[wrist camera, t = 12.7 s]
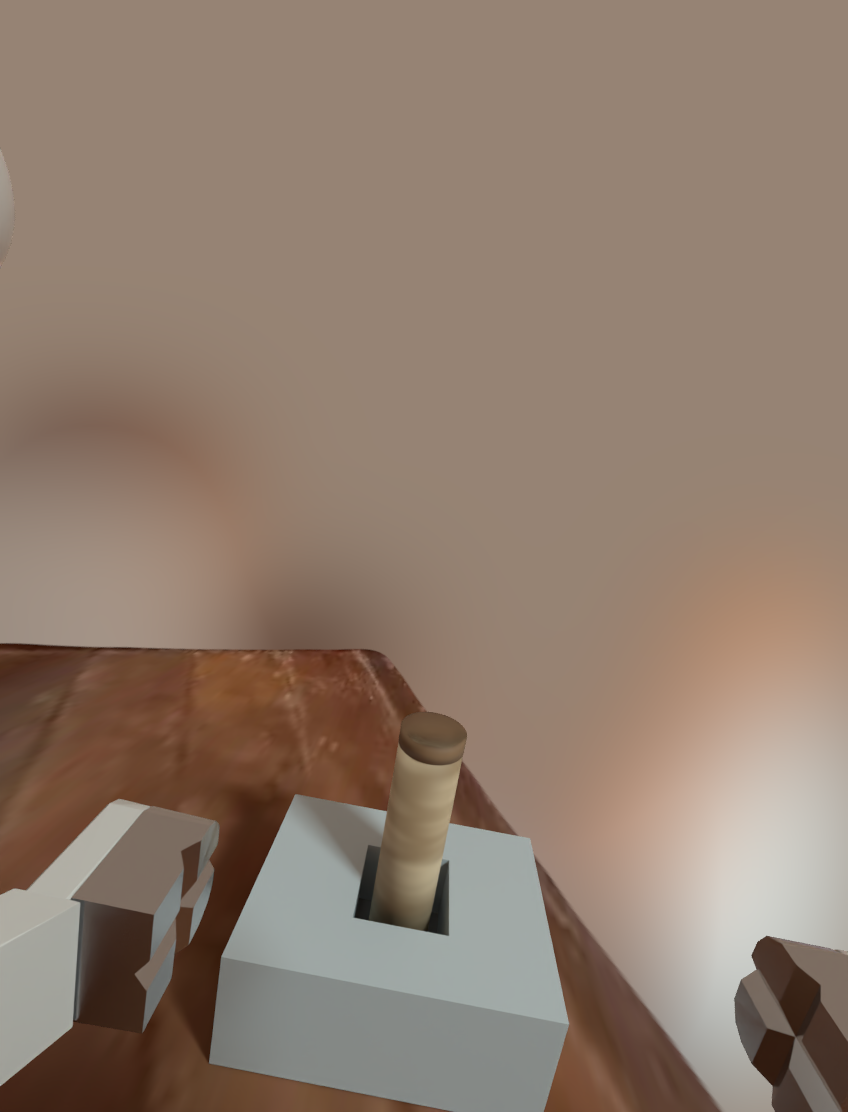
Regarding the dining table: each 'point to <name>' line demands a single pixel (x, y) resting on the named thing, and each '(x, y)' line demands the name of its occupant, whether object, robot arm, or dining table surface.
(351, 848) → the socket block
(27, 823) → the dining table surface
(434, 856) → the dowel pin
